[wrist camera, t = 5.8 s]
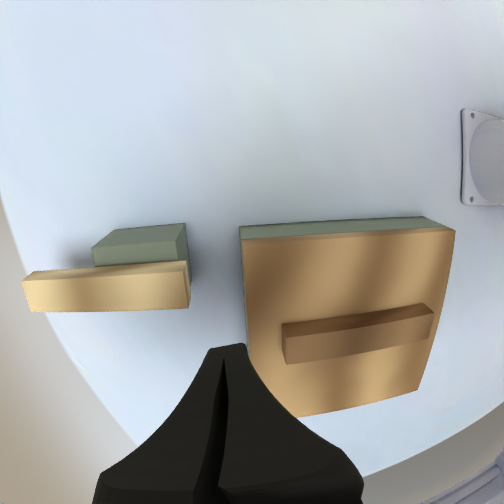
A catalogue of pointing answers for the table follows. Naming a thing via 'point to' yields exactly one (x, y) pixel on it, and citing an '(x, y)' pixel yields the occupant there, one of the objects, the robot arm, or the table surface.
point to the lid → (344, 314)
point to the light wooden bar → (109, 288)
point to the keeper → (143, 246)
